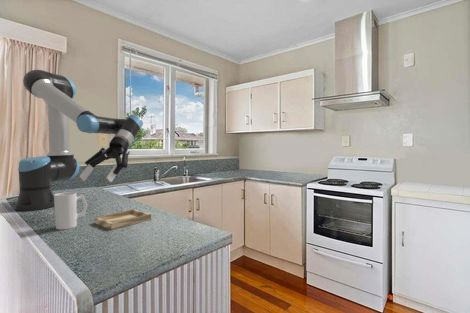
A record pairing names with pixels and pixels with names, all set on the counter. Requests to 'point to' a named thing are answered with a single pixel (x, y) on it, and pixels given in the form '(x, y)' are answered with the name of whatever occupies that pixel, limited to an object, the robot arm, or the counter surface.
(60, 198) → the mug
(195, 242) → the counter surface
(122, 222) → the keeper tray
